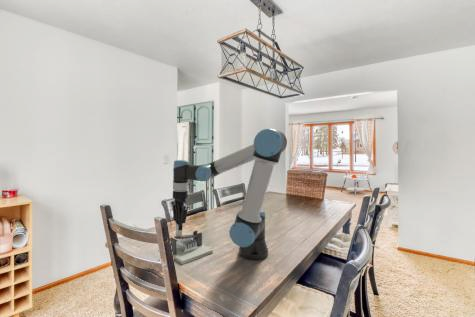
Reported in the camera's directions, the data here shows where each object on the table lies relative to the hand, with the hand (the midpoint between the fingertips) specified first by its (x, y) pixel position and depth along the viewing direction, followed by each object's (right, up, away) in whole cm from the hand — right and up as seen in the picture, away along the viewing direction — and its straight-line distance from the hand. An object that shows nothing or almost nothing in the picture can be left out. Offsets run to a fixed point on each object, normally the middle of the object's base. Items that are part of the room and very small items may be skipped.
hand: (178, 235), depth 123 cm
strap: (+4, -2, +3) cm, 6 cm away
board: (+3, -9, +3) cm, 10 cm away
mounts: (+3, -8, +3) cm, 9 cm away
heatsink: (+3, -8, +3) cm, 9 cm away
